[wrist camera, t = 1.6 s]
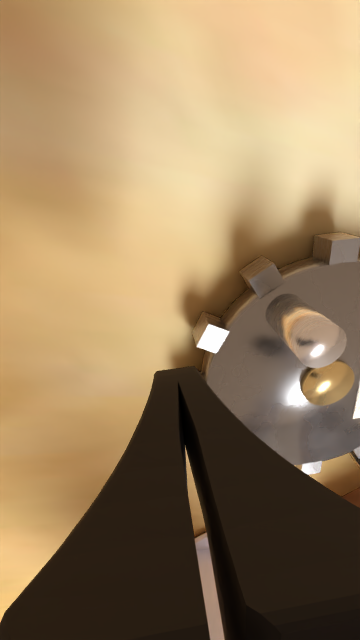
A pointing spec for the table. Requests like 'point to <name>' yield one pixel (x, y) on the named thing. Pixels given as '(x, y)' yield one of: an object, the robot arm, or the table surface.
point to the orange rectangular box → (355, 458)
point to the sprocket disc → (293, 353)
